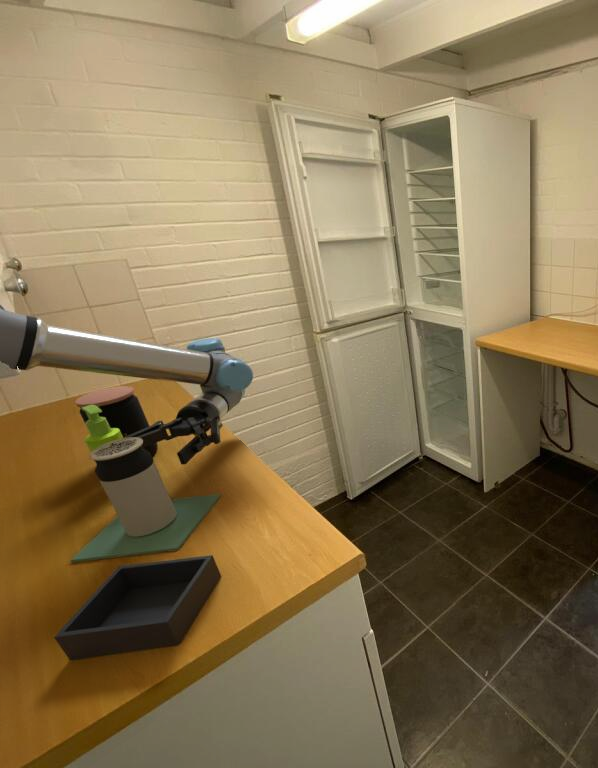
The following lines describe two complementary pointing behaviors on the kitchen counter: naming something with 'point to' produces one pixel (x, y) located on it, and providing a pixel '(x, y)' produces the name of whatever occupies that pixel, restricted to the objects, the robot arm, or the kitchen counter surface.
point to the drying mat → (166, 539)
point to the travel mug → (133, 486)
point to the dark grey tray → (140, 608)
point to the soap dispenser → (99, 429)
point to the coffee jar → (118, 410)
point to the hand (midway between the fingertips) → (144, 462)
